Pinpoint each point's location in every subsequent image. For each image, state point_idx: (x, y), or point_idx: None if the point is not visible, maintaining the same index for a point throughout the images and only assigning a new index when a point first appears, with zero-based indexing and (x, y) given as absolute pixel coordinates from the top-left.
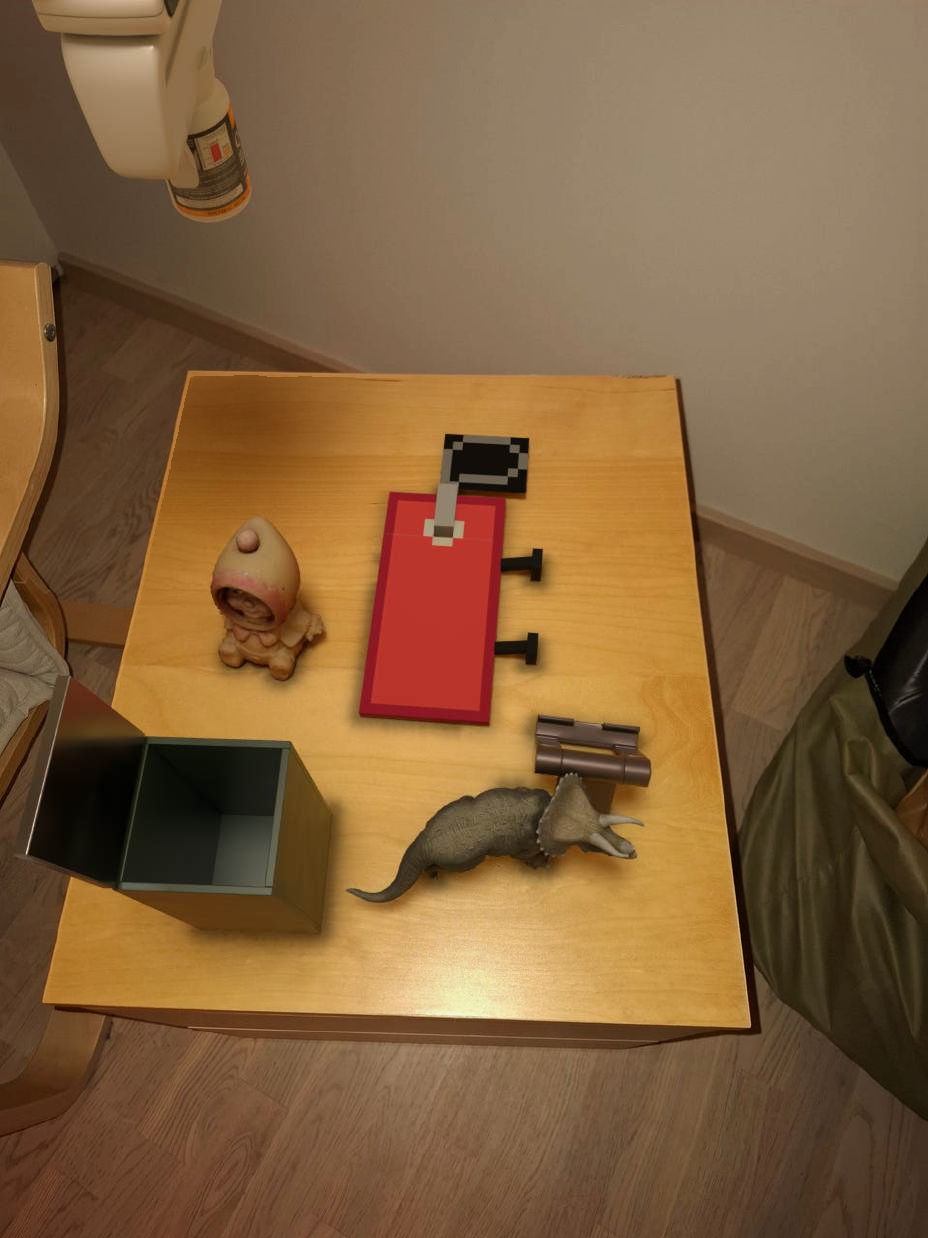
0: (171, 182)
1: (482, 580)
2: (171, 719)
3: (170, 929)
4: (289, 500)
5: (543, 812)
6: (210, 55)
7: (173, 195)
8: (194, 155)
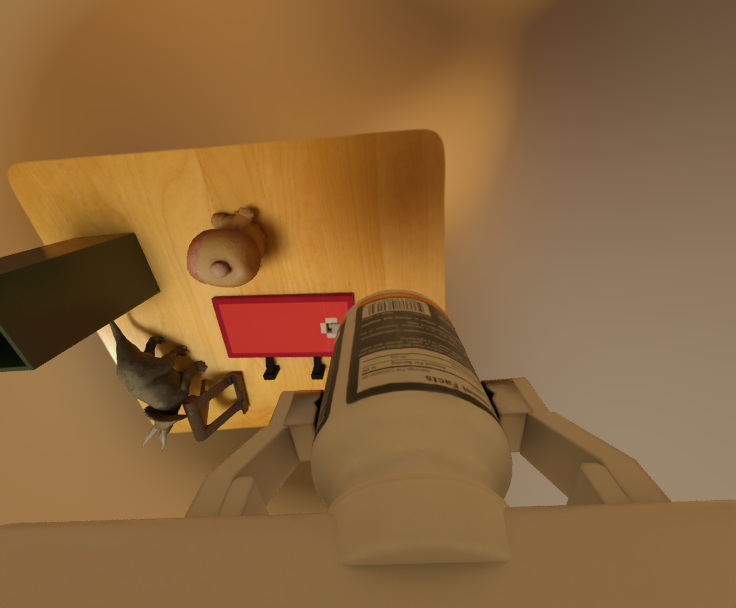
0: (281, 394)
1: (303, 349)
2: (170, 188)
3: (65, 221)
4: (342, 229)
5: (159, 409)
6: (567, 496)
7: (344, 326)
8: (304, 460)
